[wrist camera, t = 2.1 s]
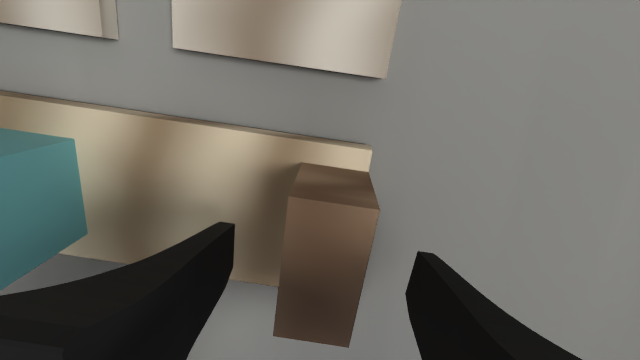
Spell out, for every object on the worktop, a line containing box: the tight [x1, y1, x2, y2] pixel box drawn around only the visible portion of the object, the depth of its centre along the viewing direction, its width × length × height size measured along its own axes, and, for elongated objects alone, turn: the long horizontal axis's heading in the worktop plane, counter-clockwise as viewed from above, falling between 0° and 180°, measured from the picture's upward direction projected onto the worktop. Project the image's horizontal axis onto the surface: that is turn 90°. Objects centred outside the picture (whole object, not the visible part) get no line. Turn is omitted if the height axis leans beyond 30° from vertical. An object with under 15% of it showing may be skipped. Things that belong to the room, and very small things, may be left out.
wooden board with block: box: [0, 91, 380, 348], centre depth 13 cm, size 20×8×5 cm, turn 82°
